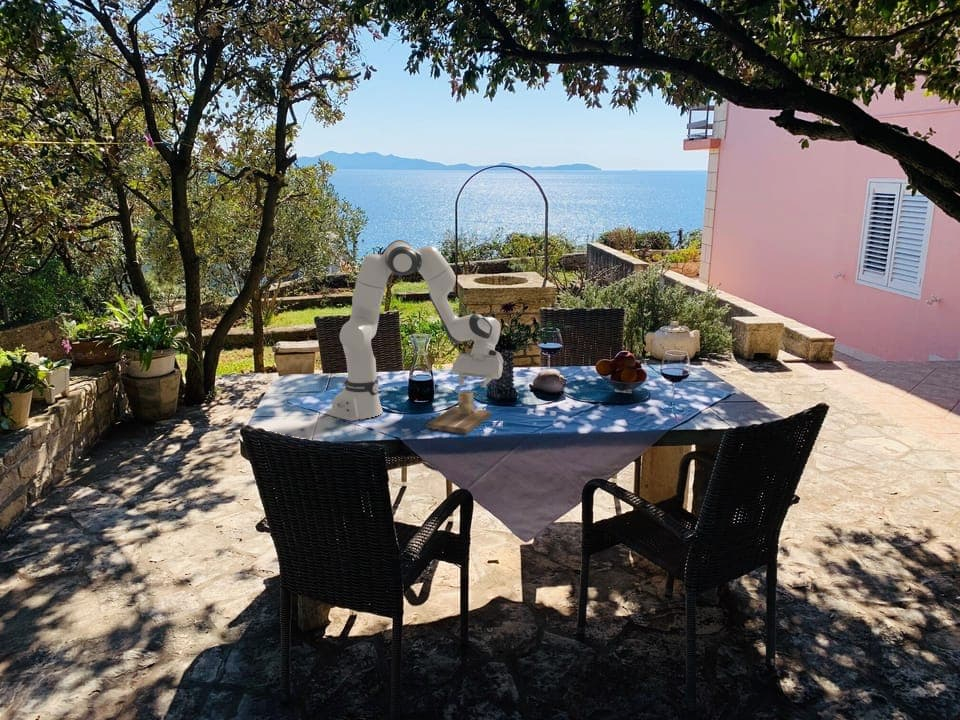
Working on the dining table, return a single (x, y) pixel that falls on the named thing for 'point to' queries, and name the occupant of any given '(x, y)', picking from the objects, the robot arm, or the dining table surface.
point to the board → (459, 420)
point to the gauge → (465, 402)
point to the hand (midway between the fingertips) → (471, 385)
